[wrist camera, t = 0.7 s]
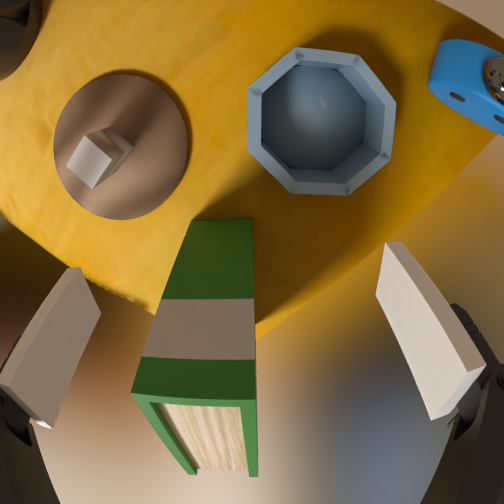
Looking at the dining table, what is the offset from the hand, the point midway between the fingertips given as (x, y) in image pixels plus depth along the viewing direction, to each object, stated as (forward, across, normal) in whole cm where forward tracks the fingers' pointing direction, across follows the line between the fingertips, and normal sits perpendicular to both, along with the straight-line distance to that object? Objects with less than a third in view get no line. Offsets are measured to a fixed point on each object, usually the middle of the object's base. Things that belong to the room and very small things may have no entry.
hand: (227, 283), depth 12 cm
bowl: (+23, +8, +4) cm, 25 cm away
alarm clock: (+23, +27, +9) cm, 37 cm away
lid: (+24, -14, +3) cm, 28 cm away
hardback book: (+23, -3, -17) cm, 29 cm away
